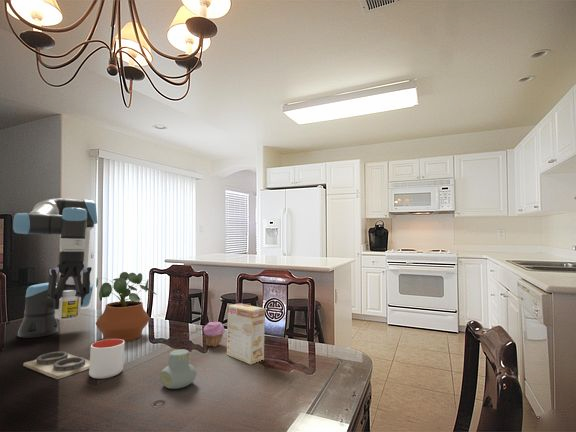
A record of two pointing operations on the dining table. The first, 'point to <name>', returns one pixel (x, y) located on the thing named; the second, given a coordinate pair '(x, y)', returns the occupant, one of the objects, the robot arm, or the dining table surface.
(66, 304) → the supplement bottle
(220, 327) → the cupcake
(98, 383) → the dining table surface
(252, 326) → the coffeecake box
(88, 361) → the caddy
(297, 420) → the dining table surface
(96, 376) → the cup
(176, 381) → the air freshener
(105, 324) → the potted plant
